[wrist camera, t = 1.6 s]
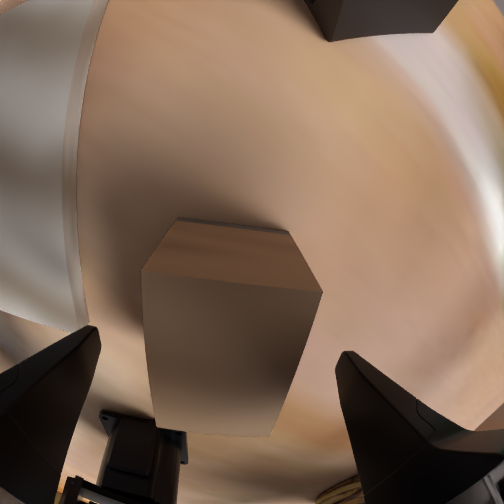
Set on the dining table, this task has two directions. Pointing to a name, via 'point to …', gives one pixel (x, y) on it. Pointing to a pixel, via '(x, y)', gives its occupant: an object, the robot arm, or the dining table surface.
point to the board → (43, 157)
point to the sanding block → (224, 325)
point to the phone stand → (377, 17)
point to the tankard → (343, 493)
